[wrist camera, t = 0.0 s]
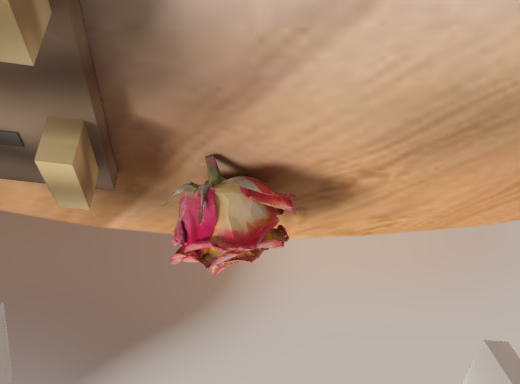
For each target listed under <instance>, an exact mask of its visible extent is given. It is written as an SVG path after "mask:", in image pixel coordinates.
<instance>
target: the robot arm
mask: <svg viewBox="0 0 520 384" xmlns="http://www.w3.org/2000/svg"><path fill="white" fill-rule="evenodd" d="M11 381H12V372H11V363H10V354H9V345H8V337H7V328H6V319H5V311H4V303H3V302H0V384H10V383H11ZM462 384H520V358H519V357H518V355H517V354H516V352H515V351H514V349H513V348H512V347H511V345H510V344H509V342H502V341H489V340H484V341H483V343H482V345H481V347H480V349H479V351H478V353H477V355H476V357H475V359H474V361H473V363H472V365H471V367H470V369H469V371H468V373H467V375H466V377H465V379H464V381H463V383H462Z"/></svg>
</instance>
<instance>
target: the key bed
mask: <svg viewBox="0 0 520 384" xmlns="http://www.w3.org/2000/svg"><path fill="white" fill-rule="evenodd" d="M117 174H118V172H117V168H116V163H115V159H114V155H113V150H112V146H111V141H110V137H109V132H108V128H107V123H106V119H105V115H104V110H103V106H102V101H101V97H100V92H99V88H98V84H97V79H96V75H95V70H94V66H93V61H92V57H91V52H90V48H89V44H88V39H87V35H86V30H85V26H84V21H83V17H82V12H81V8H80V4H79V0H0V179H9V180H19V181H28V182H37V183H46V184H47V186H48V188H49V190H50V192H51V194H52V196H53V197H54V199H55V201H56V203H57V205H58V207H68V208H77V209H87V210H90V206H91V202H92V198H93V193H94V189H102V190H111V191H114V189H115V184H116V179H117Z"/></svg>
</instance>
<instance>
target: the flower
mask: <svg viewBox="0 0 520 384" xmlns="http://www.w3.org/2000/svg"><path fill="white" fill-rule="evenodd" d="M205 159H206V163H207V168H208V172H209V179H208V180H207V181H206V182H205V184H204V185H196V184H194V183H193V182H191V183H190V184H185V185H183V186H182V187H180V188H179V189H177V191H176V192H175V193H174V194H173V196H174V195H176V194H178V193H180V192H183V191H185V192H184V193H183V194H182V196H181V199H180V207H179V219H178V223H177V226H176V227H175V229H174V230H173V238H172V239H171V240H172V243H173V244H174V245H175V246H178V245H179V244H181V245H182V247H181V248H179V249H178V251H177V252H176V254H175V255H174V256H173V257H172V259H171V263H172V264H177V263H179V262H180V261H182V260H183V262H197V263H202V264H204V266H205V267H206V268H207V270H208V271H209V273H210V274H212V275H213V276H214V275H216V274H217V273H219V272H220V271H222V270H223V269H225V268H226V267H228V266H231V265H233V264H235V263H237V262H240V261H244V262H250V263H252V262H253V261H254V260H255V259H257V258H259V256H260V255H261V253H262V252H263V251H264V250H268V249H269V248H282V247H283V246H284V241H288V239H289V237H288V234H287V232H286V230H285V228H284V227H283V226H282V225H279V226H278V228H277V229H273V227H275V226H276V225H277V223H278V222H279V221H278V220H279V219H278V217H277V218H276V215H282V214H283V211H284V210H287V211H290V212H292V213H294V214H295V213H296V210H297V208H296V205H295V204H294V203H293V200H294V199H295V197H296V195H295V194H294V195H292V194H290V195H287V194H278V193H275V192H273V191H271V190H270V188H269V187H268V186H267V184H266V182H263V181H261V180H259V179H256V178H253V177H248V176H236V177H233V178H230V179H227V180H226V179H225V178H223V177H222V176H221V174H220V171H219V168H218V166H217V163H216V160H215V158H214V155H210V156H206V157H205ZM188 181H189V180H188ZM189 182H190V181H189ZM262 183H263V184H262ZM173 196H172V197H173ZM172 197H171V198H172ZM171 198H170V199H171ZM170 199H169V200H170ZM169 200H168V202H169ZM168 202H167V203H168ZM167 203H166V204H167ZM166 204H164V205H166ZM164 205H160V206H164ZM273 207H276V208H277V210H276V209H275V208H273ZM285 235H286V236H287V237H285ZM273 239H274V240H273ZM280 241H282V242H280Z"/></svg>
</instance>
